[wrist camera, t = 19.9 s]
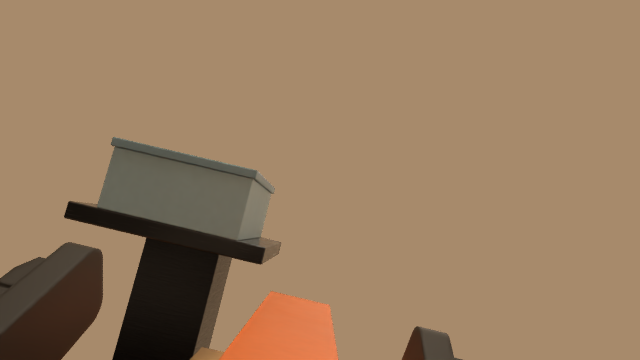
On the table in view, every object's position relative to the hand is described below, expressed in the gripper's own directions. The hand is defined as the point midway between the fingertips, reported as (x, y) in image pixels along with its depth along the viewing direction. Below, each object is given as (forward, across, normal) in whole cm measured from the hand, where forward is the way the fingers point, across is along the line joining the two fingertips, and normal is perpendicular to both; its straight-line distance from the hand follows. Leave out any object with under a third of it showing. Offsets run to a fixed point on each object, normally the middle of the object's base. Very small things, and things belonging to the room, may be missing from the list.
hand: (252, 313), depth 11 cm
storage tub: (+21, +9, +12) cm, 26 cm away
